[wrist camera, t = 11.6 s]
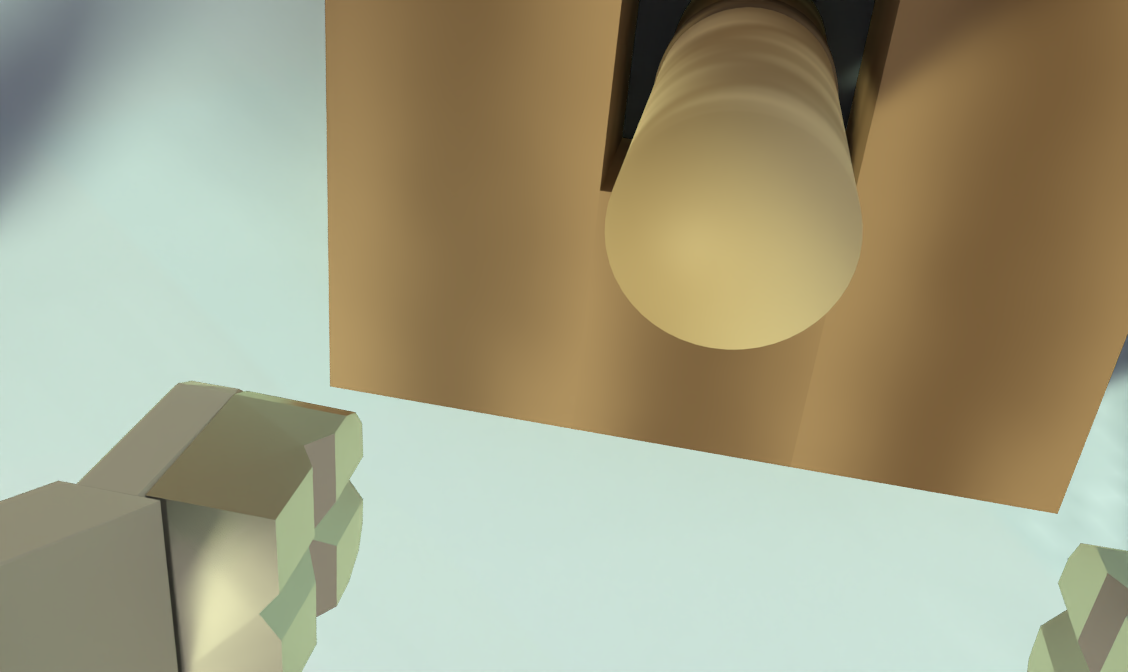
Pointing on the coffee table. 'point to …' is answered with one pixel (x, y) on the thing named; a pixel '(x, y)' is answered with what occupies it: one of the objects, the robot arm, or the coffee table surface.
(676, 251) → the maple dowel
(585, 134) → the walnut board
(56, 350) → the coffee table surface
